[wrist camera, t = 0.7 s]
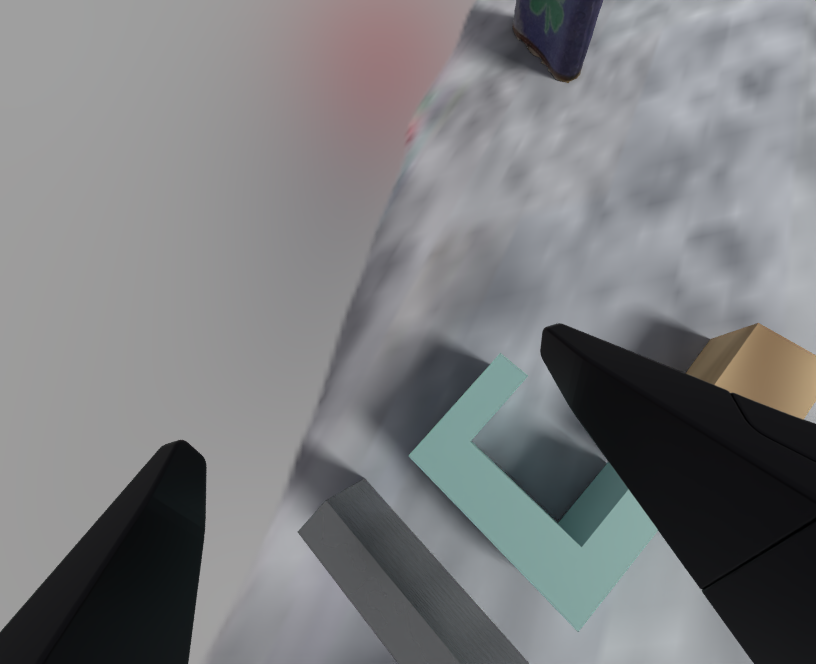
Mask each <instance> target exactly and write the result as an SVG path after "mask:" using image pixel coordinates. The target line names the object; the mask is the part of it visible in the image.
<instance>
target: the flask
mask: <svg viewBox="0 0 816 664" xmlns="http://www.w3.org/2000/svg"><path fill="white" fill-rule="evenodd" d="M602 3H603V0H516V6H515V14H514V20H513V30H514V34H515V35H516V37H517V39H518V40H519V41H520V39H522V41H523V42H524V43H525V45H526V47H528V48H527V49H528V50H529V51H530V53H532V54H533V55H534V56H537V57H539V58H541V60H542V62H541V63H543V64H545V65H546V66H547V67H548V71H550V72H551V73H552V75H553V76H554V78H555V79H556V80H558V81H562V82H567V83H569V82H570V81H572V80H574V79H576V78H577V77H578V76H579V75H580V72H581V69H582V65H583V61H584V59H585V56H586V53H587V50H588V47H589V43H590V41H591V38H592V35H593V31H594V28H595V24H596V21H597V17H598V14H599V11H600V8H601V6H602Z"/></svg>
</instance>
